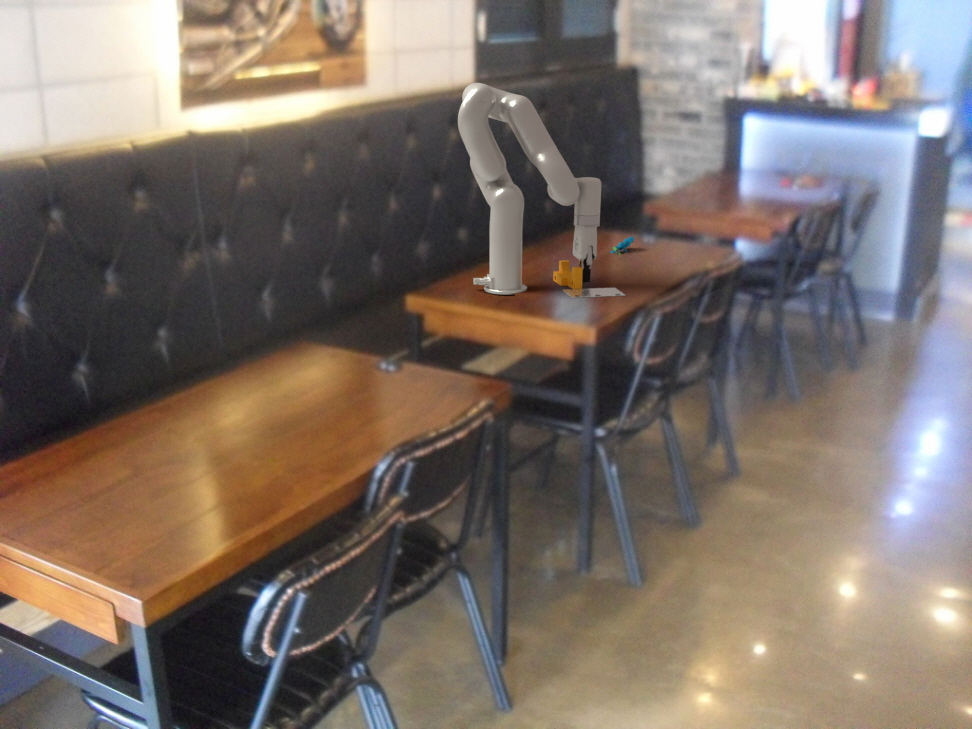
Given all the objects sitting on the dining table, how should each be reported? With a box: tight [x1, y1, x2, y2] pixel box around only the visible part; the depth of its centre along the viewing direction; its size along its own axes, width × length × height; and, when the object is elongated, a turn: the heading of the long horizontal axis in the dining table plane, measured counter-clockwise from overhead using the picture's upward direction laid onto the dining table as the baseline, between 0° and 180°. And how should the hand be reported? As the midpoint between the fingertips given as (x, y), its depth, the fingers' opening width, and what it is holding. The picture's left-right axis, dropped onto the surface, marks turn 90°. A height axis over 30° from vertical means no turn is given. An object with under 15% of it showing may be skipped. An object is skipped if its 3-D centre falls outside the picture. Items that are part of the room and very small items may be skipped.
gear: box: [609, 235, 635, 256], centre depth 354 cm, size 11×6×10 cm
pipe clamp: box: [552, 259, 583, 289], centre depth 314 cm, size 12×4×6 cm, turn 18°
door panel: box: [562, 287, 626, 299], centre depth 304 cm, size 16×10×1 cm, turn 101°
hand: (584, 281), depth 312 cm, fingers closed
